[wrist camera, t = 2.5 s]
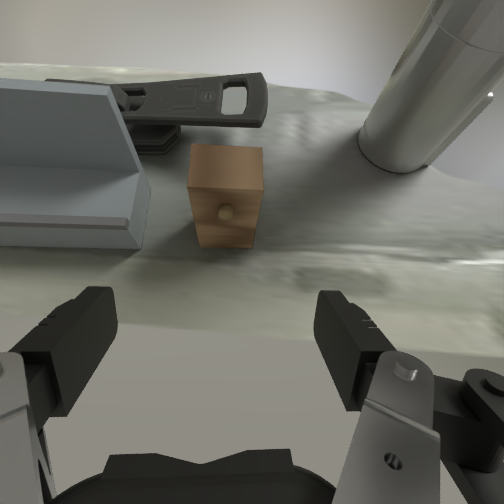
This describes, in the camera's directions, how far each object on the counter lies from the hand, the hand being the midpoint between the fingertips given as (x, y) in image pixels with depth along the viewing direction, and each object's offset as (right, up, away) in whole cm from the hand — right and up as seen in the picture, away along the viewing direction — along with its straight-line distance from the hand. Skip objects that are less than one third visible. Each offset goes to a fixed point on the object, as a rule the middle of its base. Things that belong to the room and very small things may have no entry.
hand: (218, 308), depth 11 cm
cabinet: (-1, +5, +19) cm, 19 cm away
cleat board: (-19, +6, +18) cm, 26 cm away
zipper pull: (-10, +17, +24) cm, 31 cm away
